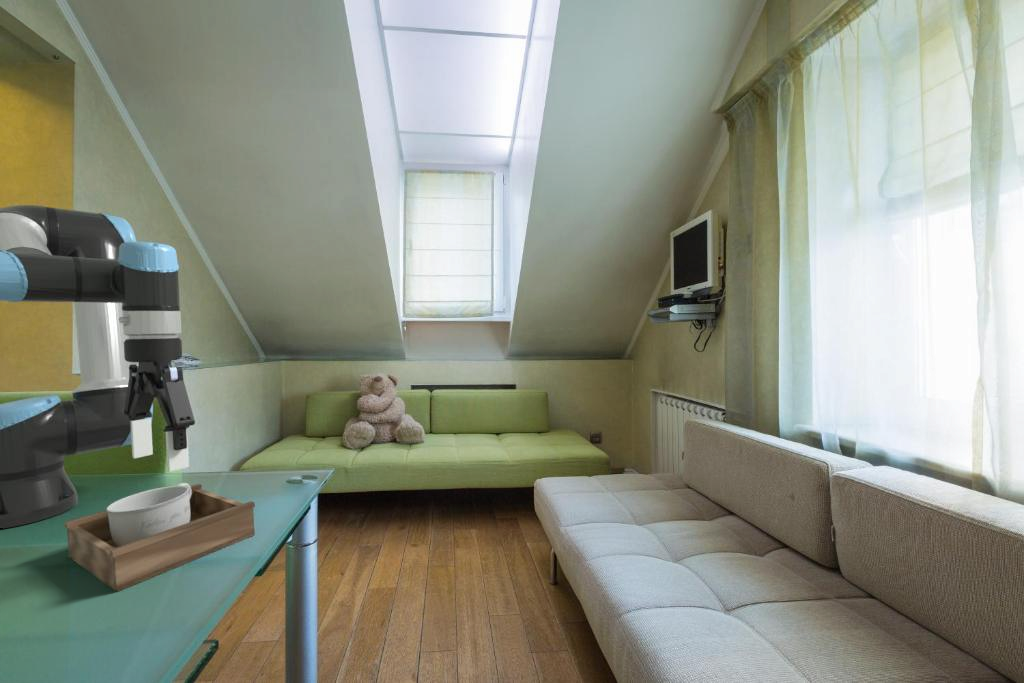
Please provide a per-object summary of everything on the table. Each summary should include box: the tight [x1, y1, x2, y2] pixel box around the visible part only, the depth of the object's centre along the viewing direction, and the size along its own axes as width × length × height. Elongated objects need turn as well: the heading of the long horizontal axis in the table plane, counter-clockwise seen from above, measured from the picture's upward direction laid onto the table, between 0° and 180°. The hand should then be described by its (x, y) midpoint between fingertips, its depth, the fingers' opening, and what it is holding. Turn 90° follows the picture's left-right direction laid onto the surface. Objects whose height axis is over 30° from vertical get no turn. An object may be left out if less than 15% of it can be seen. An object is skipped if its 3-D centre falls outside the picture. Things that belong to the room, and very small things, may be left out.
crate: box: [64, 483, 256, 593], centre depth 75 cm, size 20×19×6 cm
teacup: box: [105, 482, 192, 547], centre depth 76 cm, size 14×11×8 cm
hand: (159, 462), depth 75 cm, fingers open, 13 cm apart
